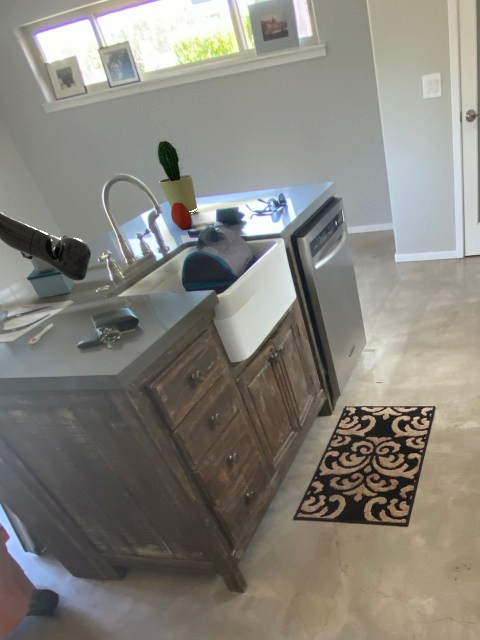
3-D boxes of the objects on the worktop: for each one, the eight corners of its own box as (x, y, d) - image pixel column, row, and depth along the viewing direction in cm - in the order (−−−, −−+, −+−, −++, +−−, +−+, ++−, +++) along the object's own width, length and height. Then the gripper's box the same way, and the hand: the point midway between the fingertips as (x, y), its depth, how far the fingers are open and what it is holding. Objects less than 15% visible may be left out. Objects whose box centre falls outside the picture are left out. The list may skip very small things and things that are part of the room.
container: (38, 299, 173) (26, 277, 169) (45, 289, 181) (34, 269, 177) (70, 292, 175) (60, 271, 170) (76, 283, 182) (66, 262, 178)
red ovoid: (172, 231, 228) (162, 203, 221) (184, 225, 233) (175, 198, 226) (186, 231, 225) (176, 203, 218) (198, 225, 230) (189, 198, 223)
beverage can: (38, 269, 175) (17, 231, 167) (58, 265, 176) (38, 227, 168) (35, 274, 170) (14, 235, 162) (56, 270, 172) (35, 230, 164)
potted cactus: (172, 219, 247) (146, 143, 227) (169, 214, 258) (144, 141, 238) (204, 212, 250) (181, 137, 230) (199, 207, 261) (177, 135, 241)
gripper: (73, 230, 152) (57, 224, 162) (23, 244, 145) (9, 237, 155) (86, 257, 157) (69, 250, 167) (38, 271, 150) (23, 263, 160)
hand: (40, 244), depth 161 cm, fingers open, 8 cm apart
